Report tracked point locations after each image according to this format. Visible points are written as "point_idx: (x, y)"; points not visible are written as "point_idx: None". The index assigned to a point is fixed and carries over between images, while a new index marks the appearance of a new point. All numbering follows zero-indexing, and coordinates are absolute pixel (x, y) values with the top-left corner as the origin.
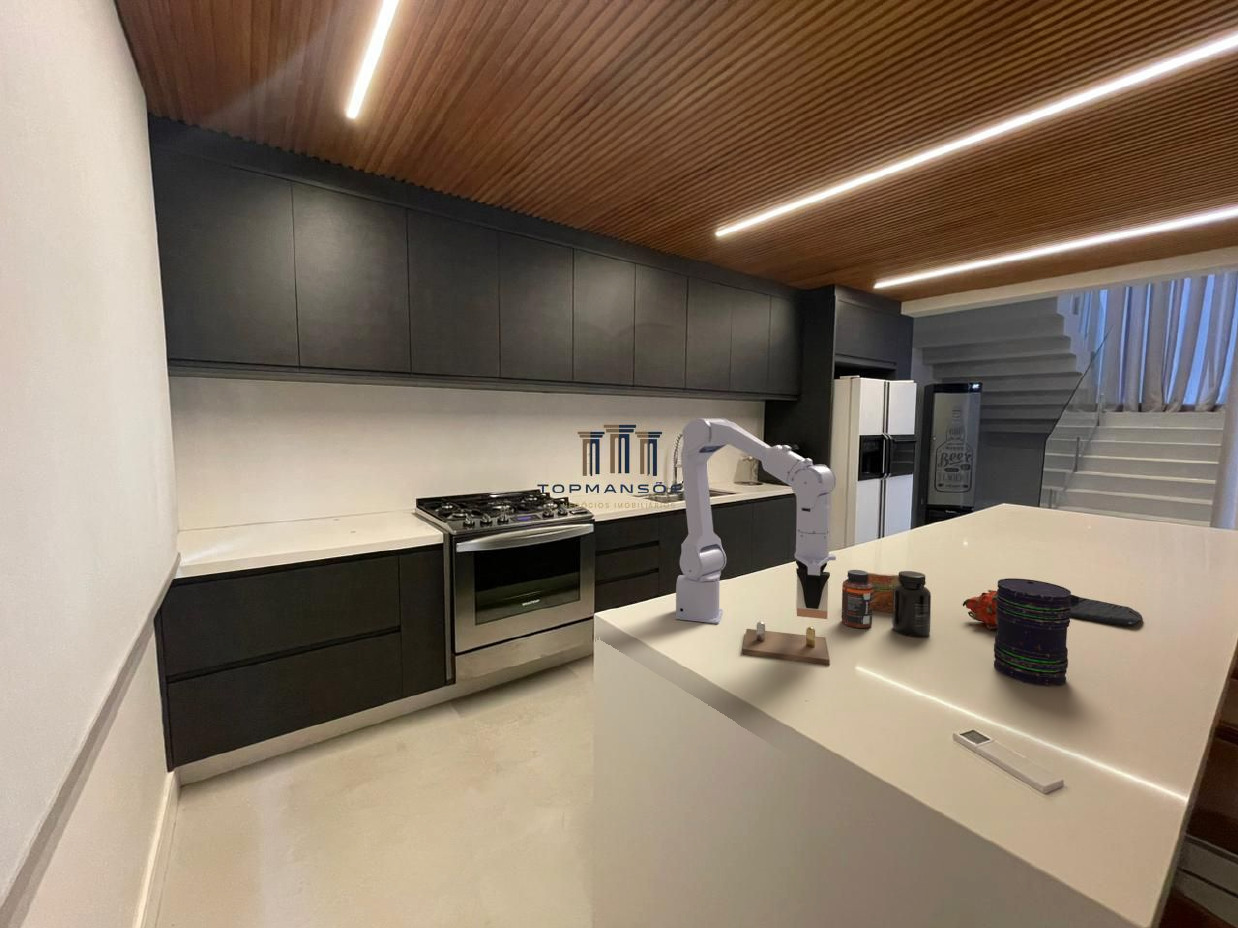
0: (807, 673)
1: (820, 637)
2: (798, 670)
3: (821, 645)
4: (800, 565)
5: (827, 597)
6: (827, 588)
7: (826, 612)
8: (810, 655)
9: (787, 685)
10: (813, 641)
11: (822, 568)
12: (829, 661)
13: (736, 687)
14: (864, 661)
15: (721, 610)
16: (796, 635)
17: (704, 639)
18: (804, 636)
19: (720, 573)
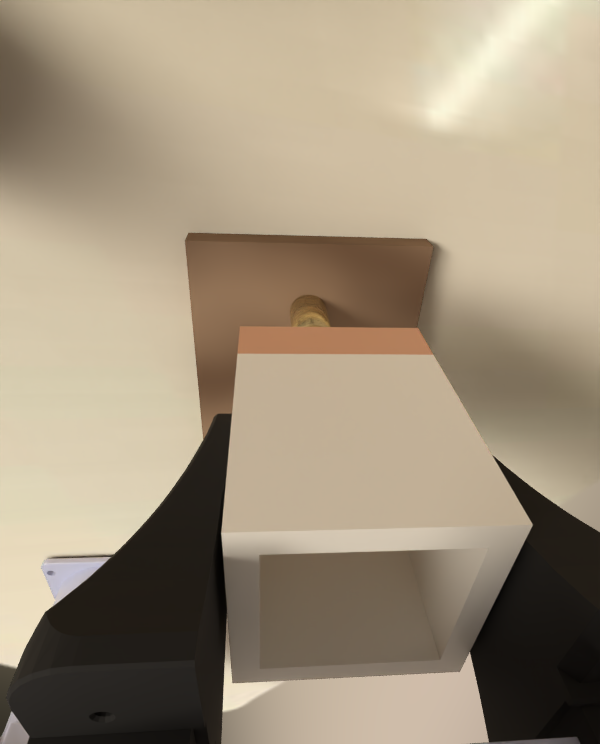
0: (498, 320)
1: (196, 264)
2: (476, 345)
3: (290, 267)
4: (220, 731)
5: (468, 415)
6: (498, 469)
7: (427, 353)
8: (401, 315)
9: (576, 376)
10: (326, 313)
11: (209, 604)
12: (430, 244)
13: (576, 480)
14: (365, 64)
15: (55, 565)
16: (210, 357)
17: None
18: (209, 328)
19: (12, 733)
